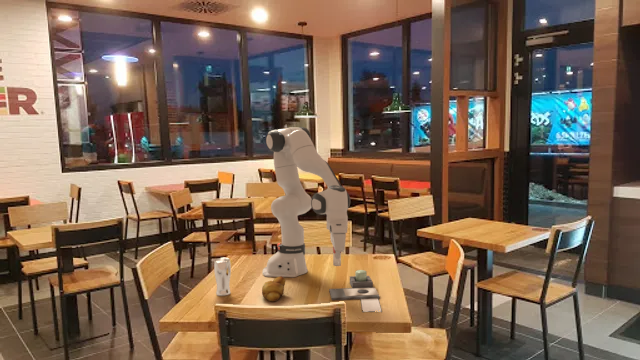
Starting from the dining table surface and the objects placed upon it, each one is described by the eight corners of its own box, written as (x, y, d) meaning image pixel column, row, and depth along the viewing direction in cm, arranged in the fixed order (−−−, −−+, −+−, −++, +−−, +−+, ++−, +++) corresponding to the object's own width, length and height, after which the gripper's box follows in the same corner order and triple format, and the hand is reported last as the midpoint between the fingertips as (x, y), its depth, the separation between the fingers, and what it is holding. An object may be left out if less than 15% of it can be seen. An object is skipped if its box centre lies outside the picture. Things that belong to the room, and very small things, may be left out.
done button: (356, 282, 202) (356, 273, 202) (354, 278, 207) (354, 270, 207) (367, 281, 203) (367, 273, 202) (365, 278, 208) (365, 269, 207)
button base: (352, 289, 201) (352, 282, 200) (349, 282, 210) (349, 276, 209) (372, 288, 201) (372, 282, 201) (369, 282, 210) (369, 275, 210)
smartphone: (359, 298, 191) (362, 313, 175) (359, 297, 191) (362, 312, 175) (378, 298, 190) (382, 313, 175) (378, 297, 190) (382, 312, 175)
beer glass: (223, 297, 192) (222, 263, 191) (211, 294, 196) (210, 260, 195) (234, 292, 198) (233, 259, 197) (223, 289, 202) (222, 256, 200)
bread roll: (281, 303, 185) (280, 284, 184) (257, 303, 186) (257, 284, 185) (286, 292, 198) (286, 274, 197) (264, 292, 199) (264, 274, 198)
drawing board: (331, 300, 188) (331, 297, 188) (329, 291, 199) (329, 288, 199) (379, 298, 189) (379, 295, 189) (374, 289, 200) (374, 286, 200)
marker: (333, 266, 191) (333, 247, 190) (332, 263, 194) (332, 245, 193) (341, 266, 191) (341, 247, 190) (340, 263, 194) (340, 245, 193)
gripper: (327, 219, 200) (327, 250, 202) (332, 230, 180) (332, 263, 182) (341, 219, 201) (341, 250, 203) (347, 229, 181) (347, 263, 182)
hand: (336, 256), depth 192 cm, fingers closed on marker, 3 cm apart
